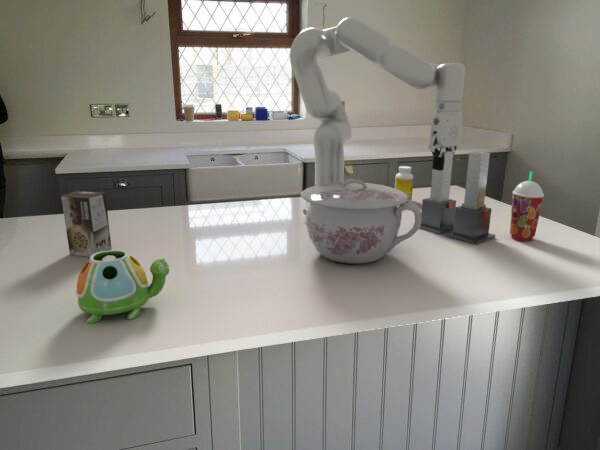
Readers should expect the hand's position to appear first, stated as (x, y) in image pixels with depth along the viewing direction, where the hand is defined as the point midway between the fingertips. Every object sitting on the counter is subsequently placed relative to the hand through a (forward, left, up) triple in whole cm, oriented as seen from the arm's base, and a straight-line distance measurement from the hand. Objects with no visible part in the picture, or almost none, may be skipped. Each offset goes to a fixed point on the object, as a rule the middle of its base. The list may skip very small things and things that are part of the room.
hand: (442, 168), depth 152 cm
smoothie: (+11, -22, -19) cm, 31 cm away
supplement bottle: (+19, +30, -19) cm, 40 cm away
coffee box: (-93, +42, -19) cm, 104 cm away
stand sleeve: (0, 0, -19) cm, 19 cm away
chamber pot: (-39, -2, -19) cm, 44 cm away
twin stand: (0, -12, -19) cm, 22 cm away
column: (0, 0, -13) cm, 13 cm away
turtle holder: (-98, +4, -19) cm, 100 cm away
